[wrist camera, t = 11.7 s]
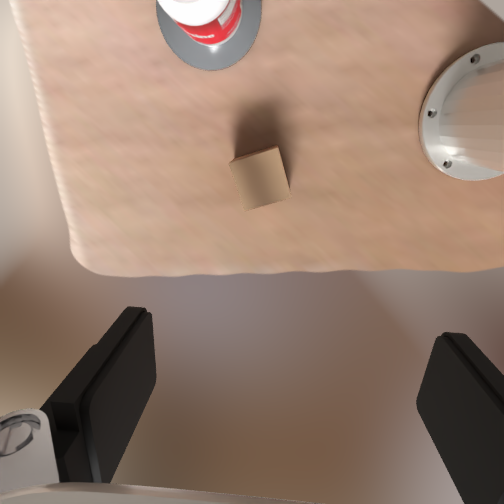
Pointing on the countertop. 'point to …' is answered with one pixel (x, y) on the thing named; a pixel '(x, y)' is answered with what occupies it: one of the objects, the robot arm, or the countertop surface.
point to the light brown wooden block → (260, 178)
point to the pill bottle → (205, 18)
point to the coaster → (213, 55)
